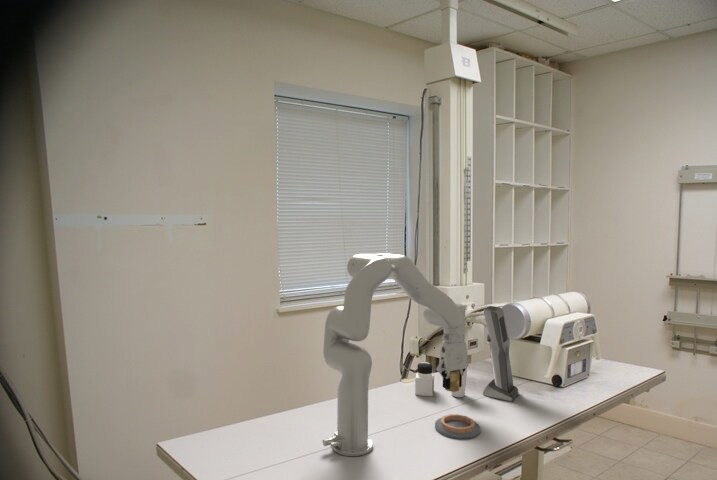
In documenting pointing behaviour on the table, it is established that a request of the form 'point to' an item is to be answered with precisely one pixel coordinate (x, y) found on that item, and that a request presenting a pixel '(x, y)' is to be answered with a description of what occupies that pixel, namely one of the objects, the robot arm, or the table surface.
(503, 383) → the thermal camera
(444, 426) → the ring tray
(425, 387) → the medicine bottle
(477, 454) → the table surface
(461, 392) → the drinking glass
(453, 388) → the wooden bead
